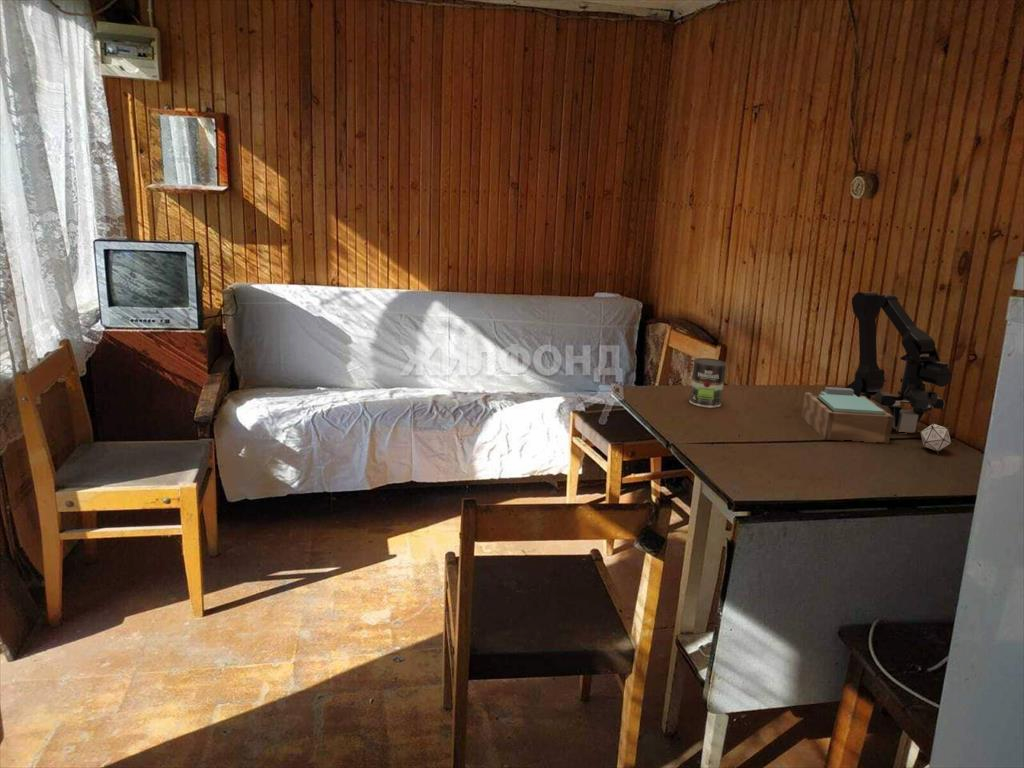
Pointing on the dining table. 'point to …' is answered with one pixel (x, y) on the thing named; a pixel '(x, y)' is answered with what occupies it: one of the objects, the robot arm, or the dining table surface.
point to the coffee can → (707, 382)
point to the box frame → (846, 422)
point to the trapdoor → (847, 401)
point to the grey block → (906, 421)
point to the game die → (935, 437)
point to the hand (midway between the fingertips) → (904, 427)
